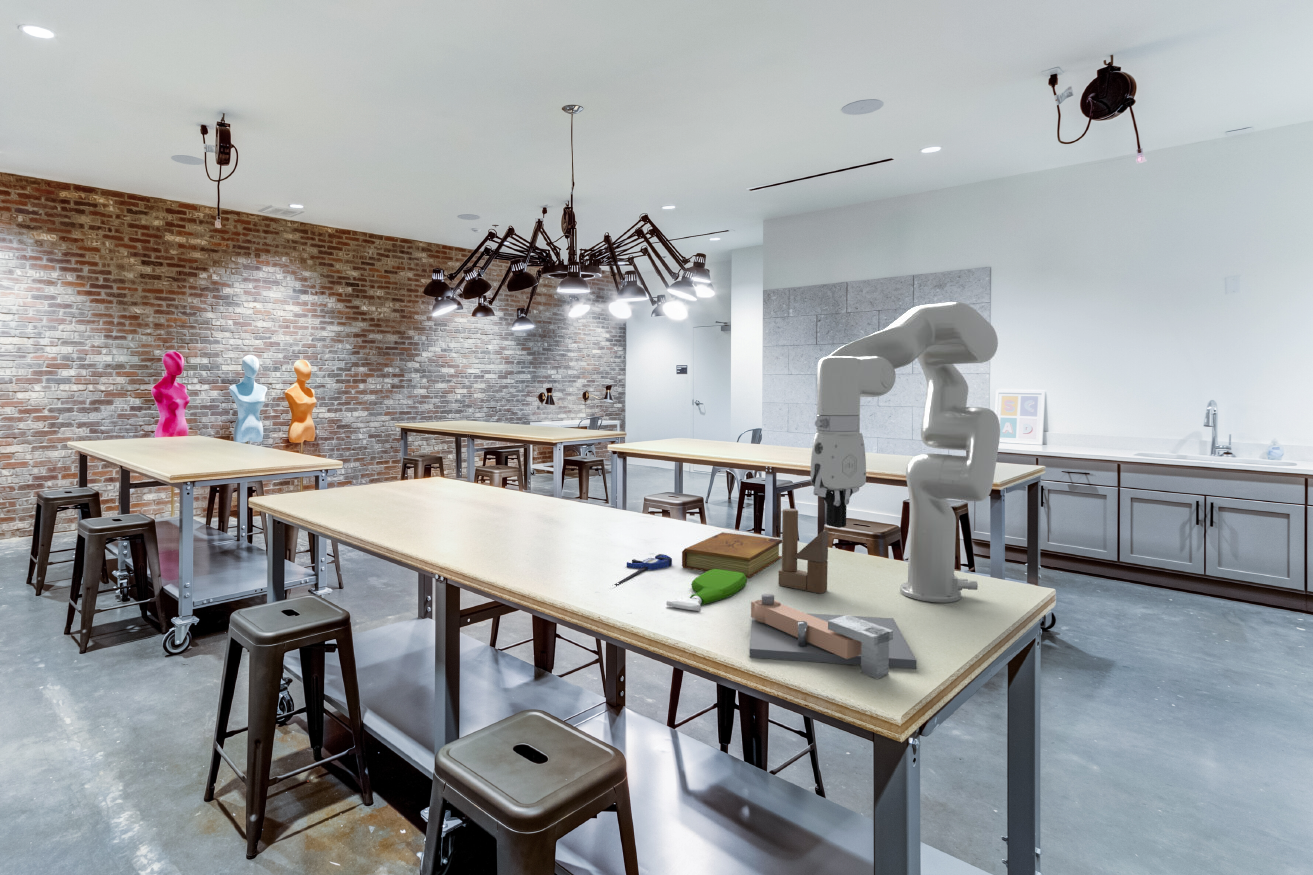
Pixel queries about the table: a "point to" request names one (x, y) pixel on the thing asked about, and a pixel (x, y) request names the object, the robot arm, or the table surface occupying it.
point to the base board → (785, 647)
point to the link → (816, 628)
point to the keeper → (865, 632)
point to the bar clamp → (648, 565)
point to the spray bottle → (711, 588)
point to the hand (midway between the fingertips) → (836, 525)
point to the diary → (732, 553)
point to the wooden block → (802, 557)
